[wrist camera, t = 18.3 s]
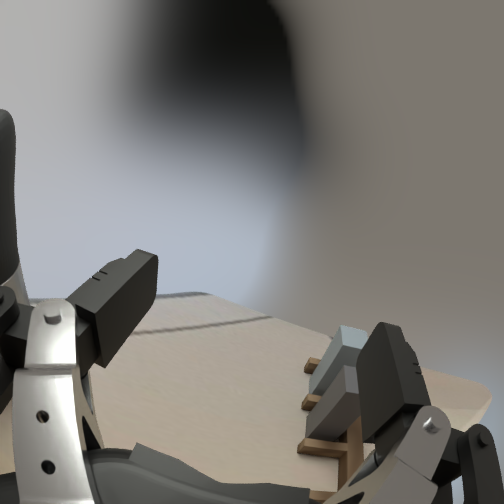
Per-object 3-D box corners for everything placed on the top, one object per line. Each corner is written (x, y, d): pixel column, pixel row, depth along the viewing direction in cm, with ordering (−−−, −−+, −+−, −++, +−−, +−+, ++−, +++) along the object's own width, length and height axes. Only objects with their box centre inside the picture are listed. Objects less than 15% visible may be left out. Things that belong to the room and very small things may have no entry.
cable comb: (290, 502, 23) (298, 498, 21) (304, 366, 44) (309, 357, 43) (353, 505, 22) (364, 500, 21) (349, 376, 43) (356, 367, 42)
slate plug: (308, 398, 38) (342, 344, 33) (309, 378, 42) (340, 324, 36) (332, 402, 38) (370, 351, 32) (332, 383, 41) (366, 331, 36)
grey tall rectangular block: (305, 439, 31) (346, 391, 26) (306, 416, 35) (344, 365, 30) (331, 443, 31) (377, 396, 26) (332, 420, 35) (373, 370, 29)
